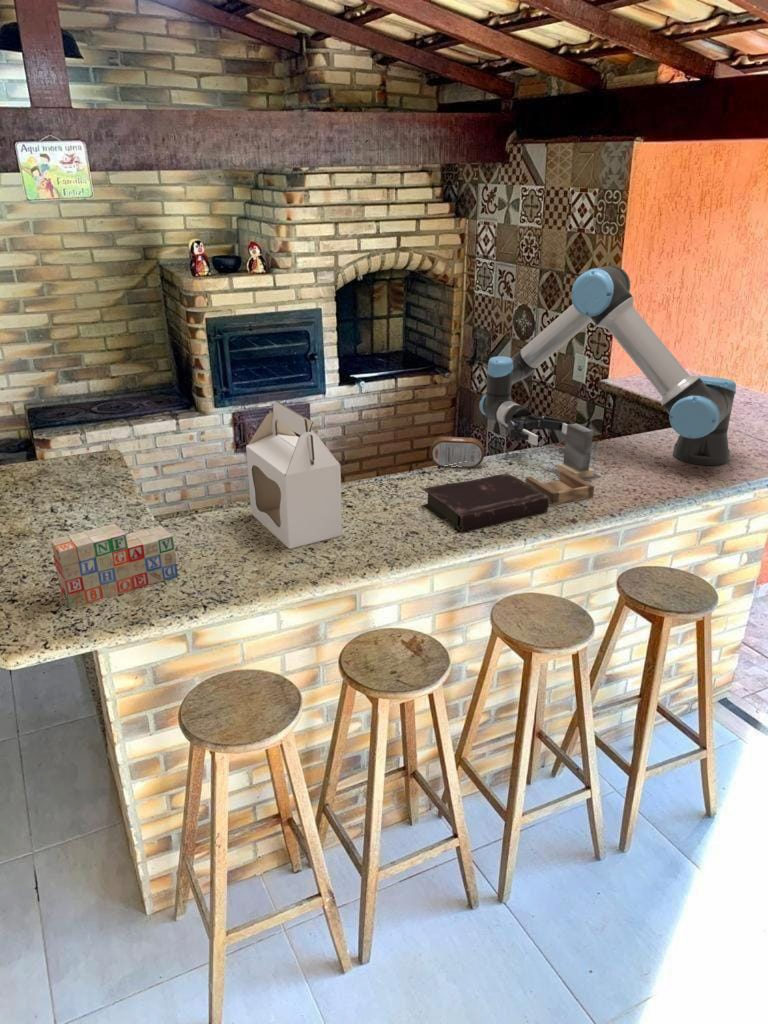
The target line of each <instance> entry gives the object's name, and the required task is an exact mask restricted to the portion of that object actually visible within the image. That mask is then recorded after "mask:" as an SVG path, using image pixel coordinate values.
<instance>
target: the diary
mask: <svg viewBox="0 0 768 1024" xmlns="http://www.w3.org/2000/svg"><path fill="white" fill-rule="evenodd" d="M422 491H424V492H425V493H426V494H427V503H425V504H422V507H423V508H425V509H427V510H428V511H429V510H430V511H429V512H431V513H433V514H434V515H435V516H437V517H438V518H440V519H441V520H443V521H445V520H447V521H449V522H450V523H451V524H453V525H454V526H455V527H456V528H455V529H456V530H457V529H460V533H464V532H468V531H472V530H476V529H479V527H480V528H484V527H487V525H488V526H492V525H491V524H493V525H496V523H497V524H501V523H505V522H504V521H506V522H509V521H508V520H510V521H513V520H512V519H514V520H517V519H516V518H518V519H520V518H521V517H522V518H524V517H529V516H535V515H537V514H538V515H539V514H542V513H546V512H548V511H549V510H548V509H549V504H550V503H549V498H548V496H547V495H545V494H542V493H541V492H540V491H538V490H536V489H535V488H533V487H531V486H530V485H528V484H527V483H526V481H523V480H521V479H520V478H518V477H516V476H514V475H511V474H510V473H501V474H496V475H490V476H487V477H481V478H475V479H472V480H467V481H460V482H459V481H458V482H451V483H444V484H439V485H433V486H430V487H426V488H424V487H423V488H422ZM500 522H501V523H500ZM483 526H484V527H483Z"/></svg>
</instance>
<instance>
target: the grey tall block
mask: <svg viewBox="0 0 768 1024" xmlns="http://www.w3.org/2000/svg"><path fill="white" fill-rule="evenodd" d="M565 435H566V436H565V445H564V454H563V462H559V463H557V467H556V469H557V471H559V472H560V471H567V472H569V473H570V474H572V475H574V476H576V477H578V478H580V479H586V478H591V477H594V473H595V469H593V468H592V467H590V463H591V462H590V461H591V454H592V453H591V451H592V443H593V436H594V430H592V429H590V428H588V427H585V426H583V425H581V424H579V423H572V424H570V425H567V434H565Z"/></svg>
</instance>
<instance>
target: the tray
mask: <svg viewBox="0 0 768 1024" xmlns="http://www.w3.org/2000/svg"><path fill="white" fill-rule="evenodd" d="M558 477H559V479H558V480H555V481H548V482H541V481H539V480H538V479H536V478H535V477H533V476H528V477H527V476H526V477H525V483H527V484H528V485H530V486H531V487H533V488H535V489H536V490H538V491H540V492H541V493H542V494H545V495H547V496H548V498H549V504H550V505H551V506H554V505H555V506H556V505H562V504H566V503H570V502H571V503H572V502H575V501H582V500H586V499H590V498H594V492H595V486H594V485H593V484H591V483H589V482H587V481H586V480H585V481H583V480H582V479H580V478H578V477H576V476H574V475H572V474H570V473H569V472H567V471H560V476H558Z"/></svg>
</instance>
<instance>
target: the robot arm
mask: <svg viewBox="0 0 768 1024" xmlns="http://www.w3.org/2000/svg"><path fill="white" fill-rule="evenodd" d="M630 291H631V280H630V277H629V274H628V273H627V272H626V270H625V269H623V268H621V267H620V266H618V265H614V264H609V265H608V264H607V265H604V266H602V267H601V266H600V267H595V268H591V269H588V270H585V272H583V273H582V274H580V275H579V276H578V277H577V278H576V279H575V280H574V283H573V285H572V287H571V296H570V299H571V302H572V304H571V305H570V306H569V307H567V309H565V310H564V311H563V312H562V313H561V314H559V315H558V316H557V318H555V319H554V320H553V321H551V322H550V324H548V326H546V327H545V328H544V329H542V330H541V331H540V332H539V333H538V334H537V335H536V336H535V337H534V338H532V340H530V341H529V342H528V343H527V344H526V345H525V346H523V347H522V348H521V349H520V350H519V351H517V353H515V355H513V356H512V357H509V356H502V355H501V356H500V355H499V356H493V357H490V358H489V360H488V361H487V362H488V363H487V368H486V373H487V374H486V375H487V376H486V392H485V394H483V396H482V397H481V400H480V401H479V405H478V406H479V411H480V412H481V414H482V415H484V416H485V417H486V418H488V419H489V420H492V421H494V422H496V423H499V424H500V425H503V427H504V429H505V430H506V431H507V433H508V436H509V438H510V439H512V440H513V439H515V438H516V441H517V442H521V441H522V440H524V441H526V442H527V443H529V444H531V445H533V446H538V444H539V443H538V440H539V435H537V434H536V433H533V432H531V431H529V430H539V431H541V430H551V431H557V432H558V431H560V432H561V433H562V434H564V435H566V434H567V425H570V424H571V423H572V421H570V420H567V419H564V418H563V419H562V418H558V417H553V416H548V415H545V414H541V415H540V416H536V415H533V414H532V412H531V410H529V409H528V408H527V407H524V406H523V405H521V404H518V403H516V402H514V401H512V400H511V397H512V396H511V395H512V385H513V384H516V383H518V382H520V381H522V380H526V379H527V378H529V377H530V376H531V375H532V374H533V373H534V371H535V370H536V369H537V368H538V367H539V366H540V365H542V364H543V363H544V362H545V361H547V360H548V359H549V358H550V357H551V356H552V355H554V353H556V352H557V351H558V350H559V349H561V348H562V347H563V346H565V345H566V344H567V343H568V342H569V341H571V339H572V338H574V337H576V335H577V334H579V333H580V332H581V331H582V330H584V329H585V328H586V327H587V326H588V325H589V324H590V323H592V322H593V323H594V324H595V325H596V326H597V328H605V329H606V330H607V331H608V332H609V333H610V334H611V335H612V337H613V338H614V339H615V340H616V342H617V343H618V344H619V345H620V346H621V348H622V349H623V350H624V352H625V353H626V354H627V355H628V356H629V358H630V359H631V360H632V361H633V363H634V364H635V365H636V366H637V367H638V369H639V370H640V371H641V372H642V374H643V375H644V376H645V377H646V378H647V380H648V381H649V382H650V383H651V385H652V386H653V387H654V388H655V389H656V390H657V392H658V393H659V394H660V396H661V398H662V399H661V407H663V409H664V410H665V412H666V413H667V414H668V415H669V416H668V417H669V418H668V419H669V423H670V426H671V428H672V430H674V431H675V433H677V434H678V435H679V436H678V438H677V440H676V442H675V444H674V446H673V449H672V455H673V456H674V457H675V458H676V459H678V460H680V461H682V462H684V463H685V462H686V463H689V464H694V465H698V466H699V465H701V466H722V465H724V464H726V463H729V460H730V455H731V450H730V449H729V439H728V430H729V425H730V421H731V416H732V410H733V404H734V400H735V395H736V393H737V391H736V387H737V384H736V382H735V381H734V380H731V379H729V378H723V377H716V376H706V375H704V376H703V375H701V376H700V375H697V376H693V375H690V374H689V373H688V371H686V369H685V368H684V366H682V365H681V363H680V362H679V361H678V360H677V358H676V357H675V356H674V354H673V353H672V352H671V351H670V350H669V349H668V347H667V346H666V345H665V343H663V341H662V339H660V338H659V336H658V335H657V334H656V333H655V331H654V330H653V329H652V328H651V326H649V324H648V323H647V322H646V321H645V319H644V318H643V317H642V315H641V314H640V313H639V312H638V310H636V308H635V307H634V296H633V295H632V294H631V293H630Z"/></svg>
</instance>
